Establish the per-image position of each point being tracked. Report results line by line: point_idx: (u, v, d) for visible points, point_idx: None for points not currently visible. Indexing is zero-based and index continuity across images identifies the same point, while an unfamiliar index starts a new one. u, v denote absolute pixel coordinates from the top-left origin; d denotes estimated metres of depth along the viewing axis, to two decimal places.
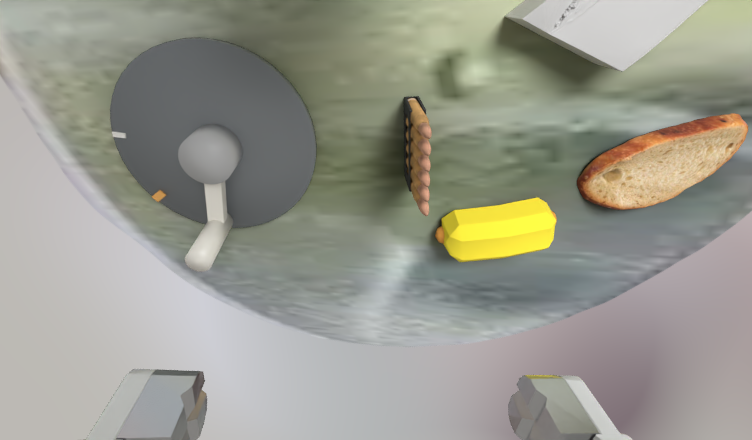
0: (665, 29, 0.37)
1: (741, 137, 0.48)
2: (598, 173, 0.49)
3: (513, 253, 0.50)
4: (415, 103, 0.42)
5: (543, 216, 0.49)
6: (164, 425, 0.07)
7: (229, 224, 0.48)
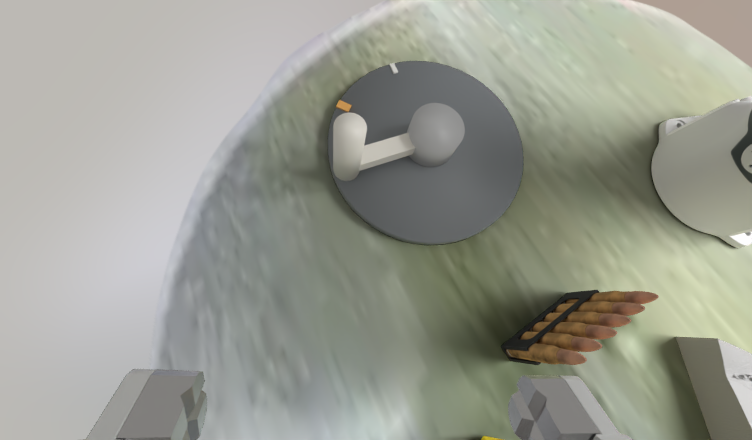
0: None
1: None
2: None
3: None
4: None
5: None
6: (164, 425, 0.07)
7: (355, 173, 0.39)
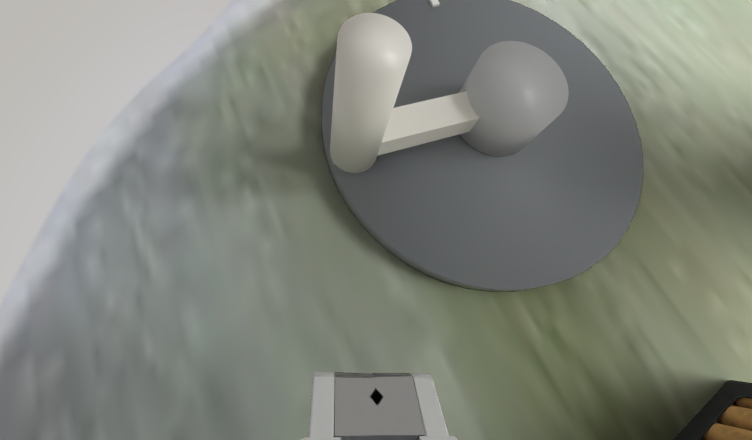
0: None
1: None
2: None
3: None
4: None
5: None
6: (369, 424, 0.07)
7: (370, 159, 0.21)
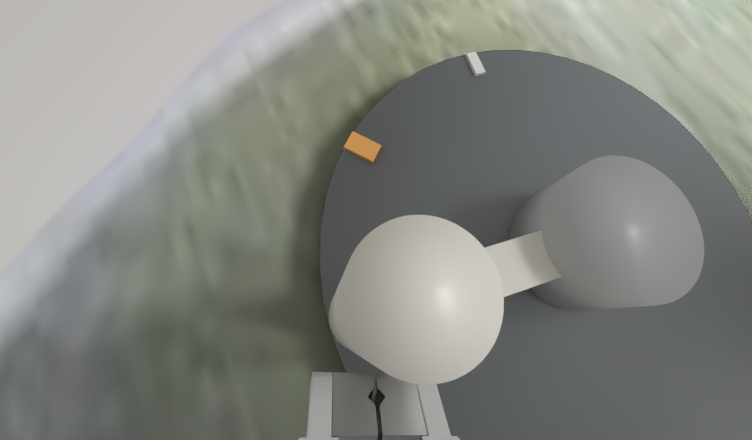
0: None
1: None
2: None
3: None
4: None
5: None
6: (367, 424, 0.07)
7: None
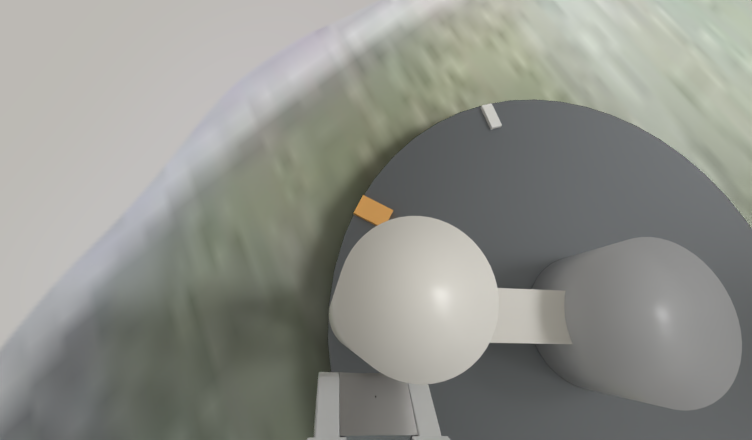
0: None
1: None
2: None
3: None
4: None
5: None
6: (375, 424, 0.07)
7: None
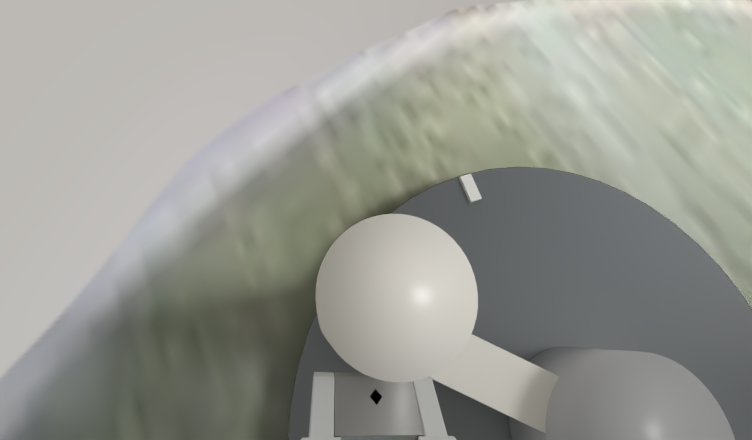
0: None
1: None
2: None
3: None
4: None
5: None
6: (369, 424, 0.07)
7: None
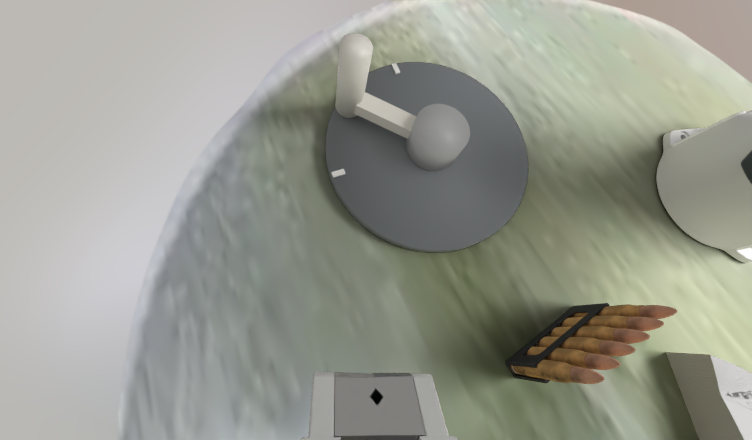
0: None
1: None
2: None
3: None
4: None
5: None
6: (369, 424, 0.07)
7: (347, 110, 0.39)
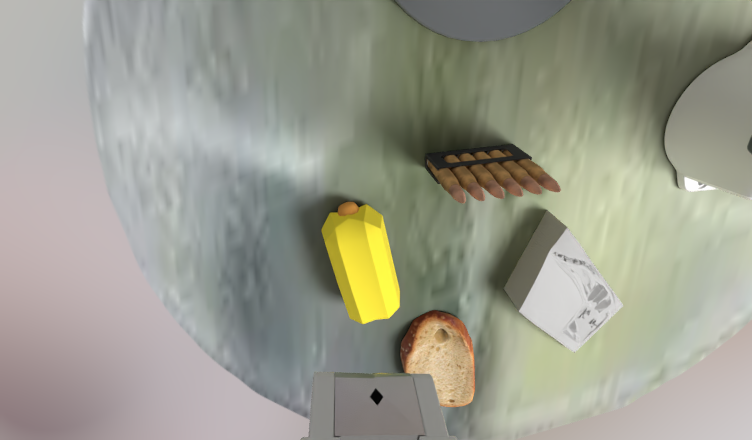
0: (542, 323, 0.51)
1: (458, 404, 0.61)
2: (449, 326, 0.53)
3: (355, 295, 0.43)
4: None
5: (396, 306, 0.46)
6: (370, 424, 0.07)
7: None
